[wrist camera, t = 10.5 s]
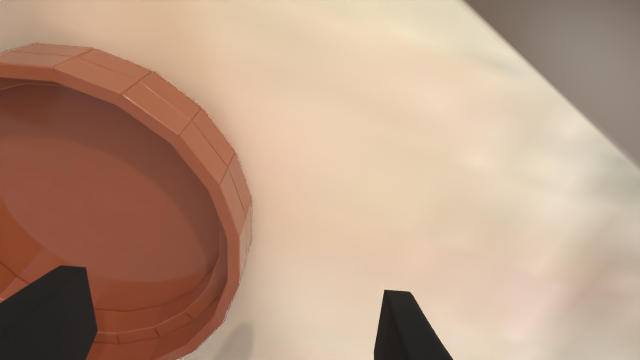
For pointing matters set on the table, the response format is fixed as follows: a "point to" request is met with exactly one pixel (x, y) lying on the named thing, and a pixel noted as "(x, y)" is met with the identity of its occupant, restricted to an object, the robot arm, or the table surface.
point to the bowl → (119, 198)
